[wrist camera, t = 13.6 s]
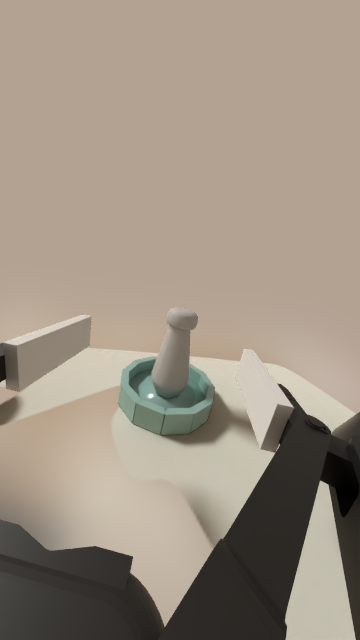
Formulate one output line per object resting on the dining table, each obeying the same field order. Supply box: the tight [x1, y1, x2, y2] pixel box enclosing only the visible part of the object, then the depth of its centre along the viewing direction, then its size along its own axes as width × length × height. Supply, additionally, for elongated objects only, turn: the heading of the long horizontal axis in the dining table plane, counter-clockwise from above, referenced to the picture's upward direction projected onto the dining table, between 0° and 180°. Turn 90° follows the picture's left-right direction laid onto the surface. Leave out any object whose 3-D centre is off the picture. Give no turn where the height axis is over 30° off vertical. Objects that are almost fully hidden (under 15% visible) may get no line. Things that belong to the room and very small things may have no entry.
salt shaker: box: [151, 308, 198, 399], centre depth 27 cm, size 6×6×13 cm
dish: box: [118, 357, 215, 435], centre depth 29 cm, size 14×14×3 cm
